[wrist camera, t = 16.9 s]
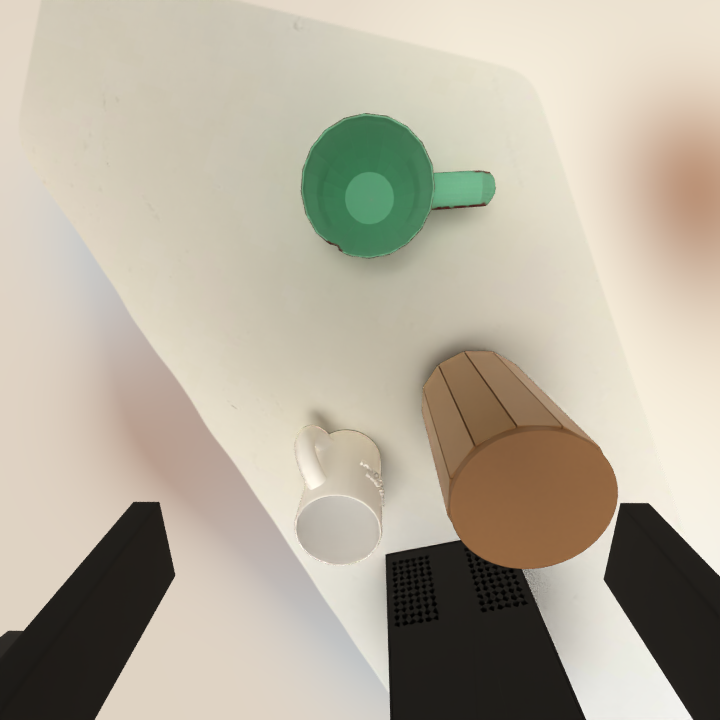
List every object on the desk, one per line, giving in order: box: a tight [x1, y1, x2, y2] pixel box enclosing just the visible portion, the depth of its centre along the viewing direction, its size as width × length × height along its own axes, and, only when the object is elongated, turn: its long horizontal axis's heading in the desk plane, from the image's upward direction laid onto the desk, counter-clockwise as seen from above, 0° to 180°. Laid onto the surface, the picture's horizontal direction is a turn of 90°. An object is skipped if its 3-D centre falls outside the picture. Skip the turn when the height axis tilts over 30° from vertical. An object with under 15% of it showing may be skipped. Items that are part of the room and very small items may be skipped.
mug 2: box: [301, 113, 496, 258], centre depth 34 cm, size 15×10×10 cm
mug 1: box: [295, 425, 384, 565], centre depth 42 cm, size 8×12×12 cm
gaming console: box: [386, 540, 586, 720], centre depth 39 cm, size 15×15×30 cm
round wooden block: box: [422, 351, 618, 569], centre depth 33 cm, size 10×10×16 cm
